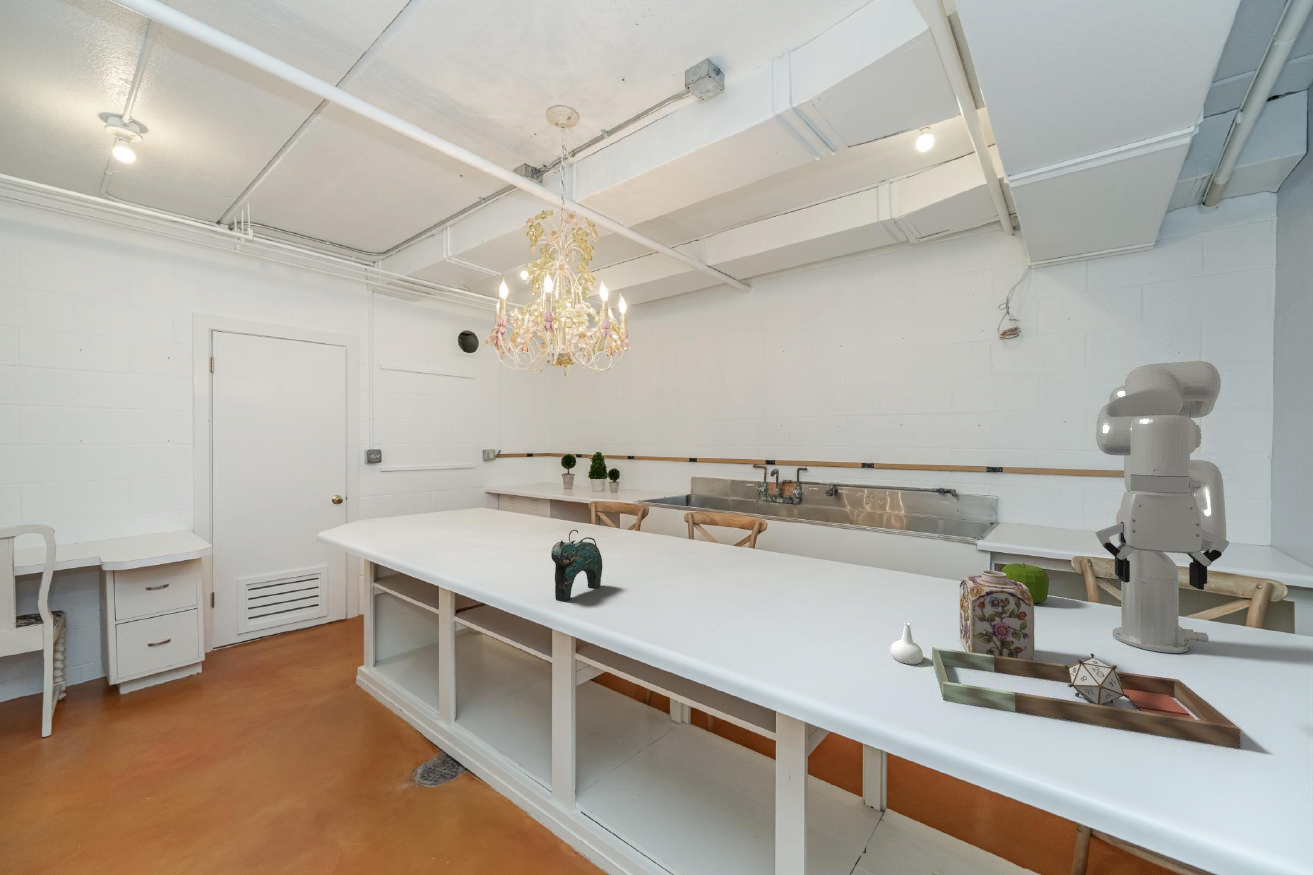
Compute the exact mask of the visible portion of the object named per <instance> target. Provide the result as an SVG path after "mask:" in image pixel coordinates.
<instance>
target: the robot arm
mask: <svg viewBox="0 0 1313 875" xmlns="http://www.w3.org/2000/svg"><path fill="white" fill-rule="evenodd" d="M1221 384H1222V380H1221V374H1220V372H1219V370H1218V369H1217V367H1216V366H1215V365H1213V364H1212V363H1211V362H1208V361H1204V360H1192V361H1174V362H1173V361H1172V362H1160V363H1149V364H1144V365H1141V366H1138V367H1136V368H1134V369H1132V370H1131V371H1130V372H1129V373H1128V374H1127V375H1126V378H1125V380H1124V385H1120V386H1118V387H1115V388H1114V389H1112V391H1111V392H1110V395H1109V399H1108V400H1109V401H1108V402H1107V403H1106V404H1105V405H1104V406H1102V408H1101V409H1100V411H1099V413H1098V415H1097V420H1096V430H1095V437H1096V438H1095V440H1096V443H1097V447H1098V449H1099V450H1100V451H1101V452H1103V453H1104V454H1106V455H1110V456H1123V471H1124V473H1123V475H1124V476H1123V478H1124V485H1125V486H1124V487H1125V489H1126V491H1124V492H1123V496H1122V499H1121V503H1120V508H1119V509H1118V511H1117V513H1116V517H1115V522H1116V524H1115V525H1112V526H1109V527H1106V528H1104V529H1101V530H1098V531H1096V532H1095V535H1096V538H1097V539H1098V540H1099V542H1100V543H1101V545H1102V547H1103V548H1104V549H1106V550H1107V551H1108V552H1109V553H1110V554H1111V556H1112V557H1114V574H1115V576H1116V577H1117V579H1118V580H1120V581H1121V584H1120V585H1121V588H1120V590H1121V594H1120V595H1121V597H1120V598H1121V600H1120V601H1121V608H1120V610H1121V616H1120V617H1121V622H1120V623H1121V626H1120V627H1116V628H1113V629H1112V636H1113V637H1114V638H1115V639H1116V640H1118V641H1120V642H1122V643H1124V644H1126V645H1129V646H1132V647H1135V648H1138V649H1144V650H1148V651H1154V652H1158V653H1166V654H1167V653H1168V654H1179V653H1180V654H1182V653H1185V652H1188V651H1189V650H1190V649H1189V644H1188V642H1189V641H1196V642H1205V643H1207V642H1209V635H1208V634H1207V633H1206V632H1201V631H1194V630H1193V629H1190V628H1183V627H1182V626H1180V625H1179V617H1180V616H1179V608H1180V607H1179V606H1180V605H1179V601H1180V600H1179V598H1180V596H1179V595H1180V594H1179V593H1180V592H1179V591H1180V588H1179V586H1180V585H1179V584H1180V583H1179V582H1180V581H1179V578H1180V577H1179V576H1180V574H1179V568H1178V566H1177V564H1176V562H1174V560H1173V559H1172V558H1171V557H1170V556H1169V555H1167V554H1166V553H1173V554H1185V555H1187V556H1188V557H1189V558H1190V559H1191V560H1192V561H1190V563H1189V564H1188V566H1189V569H1188V570H1189V571H1188V574H1189V575H1188V577H1189V578H1188V581H1189V582H1188V583H1189V585H1190V586H1191V587H1193V588H1195V589H1198V590H1202V591H1204V589H1205V585H1207V584H1208V567H1210V566H1211V565H1212V564H1213V562H1215V561H1216V560H1219V559H1220V558H1221V557H1222V555H1223V553H1224V552H1225V550H1226V549H1227V548H1228V546H1229V545H1230V542H1229V540H1227V519H1226V504H1225V490H1224V489H1225V488H1224V481H1223V475H1222V472H1221V470H1220V468H1219V467H1218V466H1217V465H1216V464H1215V463H1214V462H1211V461H1208V460H1203V459H1191V454H1192V453H1194V452H1195V451H1196V449H1198V448H1200V445H1201V443H1202V433H1201V432H1202V430H1201V427H1200V425H1199V424H1197V422H1196V421H1194V420H1193V419H1197V418H1203V417H1206V416H1208V415H1210V414H1211V413H1212V412H1213V410H1214V407H1215V404H1216V402H1217V399H1218V397H1219V395H1220V392H1221V388H1222V387H1221ZM1116 535H1117V541H1118V542H1119V545H1117V546H1116V545H1115V544H1113V543H1112V542H1111V539H1110V537H1112V536H1116Z"/></svg>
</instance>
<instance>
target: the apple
mask: <svg viewBox="0 0 1313 875" xmlns="http://www.w3.org/2000/svg"><path fill="white" fill-rule="evenodd" d="M1001 572H1002V573H1005V574H1006V575H1007V579H1010V580H1014V581H1017V582H1020V583H1023V584H1024V585H1025V586H1026V587H1027V588H1028V589H1029V591H1030V595H1031V597H1032V598H1033V603H1034V604H1037V603H1041V602H1044V601H1047V599H1048V595H1049V594H1048V593H1049V585H1050V578H1049V575H1048V573H1047V572H1046V571H1045V570H1044V569H1043V568H1042V567H1039V566H1035V565H1031V564H1025V562H1022V563H1017V562H1016V563H1008V564H1006V565H1005V566H1004V567H1003V566H1002V568H1001Z"/></svg>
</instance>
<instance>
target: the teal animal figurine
mask: <svg viewBox="0 0 1313 875" xmlns="http://www.w3.org/2000/svg"><path fill="white" fill-rule="evenodd" d="M572 532H576V533H577V534H579V530H577V529H571V530H570V531H569V533H568V541H569V542H565V541H563V539H561V540H560V541H558V542H555V544H554V545H553V546H552V548H551V553H550V554H551V561H553V562H554V564H555V565H554V566H555V568H554V569H555V570H554V583H555V584H554V585H555V586H554V587H555V588H554V595H555V600H556V601H558V602H563V603H565V602H567V601H570V600H571V596H572V588H573V584H574V583H575V578H576V577H577V576H578V575H579V573H581V572H584V573H585V575H586V580H587V588H589V589H599V588H600V587H601V585H602V584H601V582H602V574H603V557H602V554H601V551H600V549H599V548H598V546H597V542H596V539H595V538H593V537H589V536H588V537H584V538H582V539H581V540H579V541H576V540H575V539H574V540H571V534H572ZM585 540H592V541H593V542H594V543H593V542H589V541H585Z"/></svg>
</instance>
